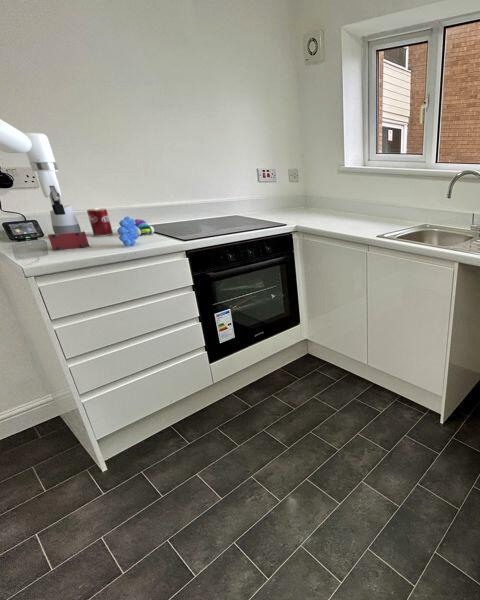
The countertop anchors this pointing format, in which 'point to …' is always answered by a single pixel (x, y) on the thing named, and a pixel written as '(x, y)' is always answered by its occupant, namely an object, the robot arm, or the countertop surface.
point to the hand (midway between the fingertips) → (60, 214)
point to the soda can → (100, 222)
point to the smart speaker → (65, 221)
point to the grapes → (128, 231)
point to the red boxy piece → (68, 240)
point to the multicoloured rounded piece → (143, 227)
